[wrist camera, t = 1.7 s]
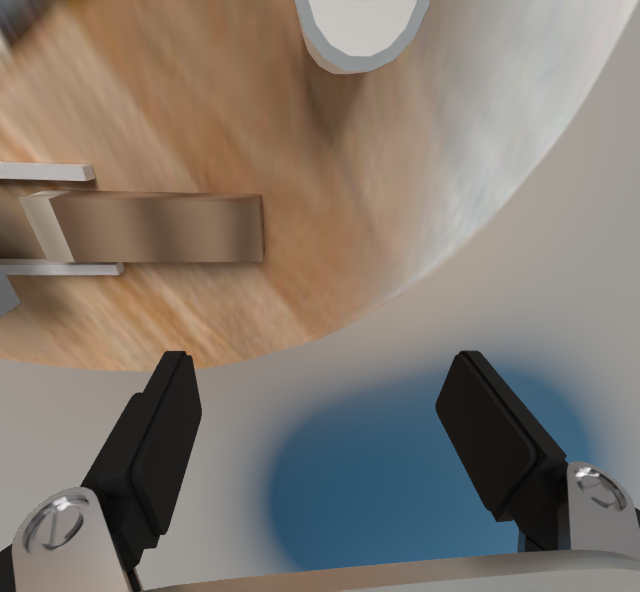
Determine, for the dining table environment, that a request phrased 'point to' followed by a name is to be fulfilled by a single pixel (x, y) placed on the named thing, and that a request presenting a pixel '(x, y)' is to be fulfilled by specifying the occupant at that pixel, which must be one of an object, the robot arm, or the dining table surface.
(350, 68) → the white short cylinder
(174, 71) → the dining table surface
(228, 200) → the walnut slat
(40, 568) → the robot arm
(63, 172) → the grey block with rails
